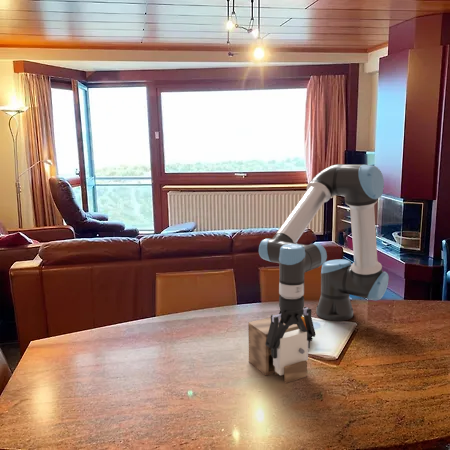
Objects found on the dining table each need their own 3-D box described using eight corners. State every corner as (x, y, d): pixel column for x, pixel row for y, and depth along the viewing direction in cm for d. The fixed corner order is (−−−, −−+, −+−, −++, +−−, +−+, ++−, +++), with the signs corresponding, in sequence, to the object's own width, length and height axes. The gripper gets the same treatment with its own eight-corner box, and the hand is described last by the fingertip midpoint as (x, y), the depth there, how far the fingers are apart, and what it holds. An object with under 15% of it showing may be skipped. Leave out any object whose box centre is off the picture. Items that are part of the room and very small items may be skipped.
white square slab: (274, 371, 139) (274, 335, 136) (300, 363, 143) (301, 328, 141) (282, 377, 135) (282, 340, 133) (308, 369, 140) (309, 333, 137)
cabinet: (248, 361, 149) (248, 322, 147) (283, 351, 156) (283, 313, 153) (277, 385, 134) (278, 342, 132) (314, 373, 141) (315, 332, 138)
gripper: (267, 306, 127) (267, 377, 131) (328, 292, 137) (326, 358, 141) (253, 298, 133) (253, 366, 137) (313, 285, 143) (311, 349, 148)
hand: (290, 362), depth 139 cm, fingers closed on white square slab, 10 cm apart
